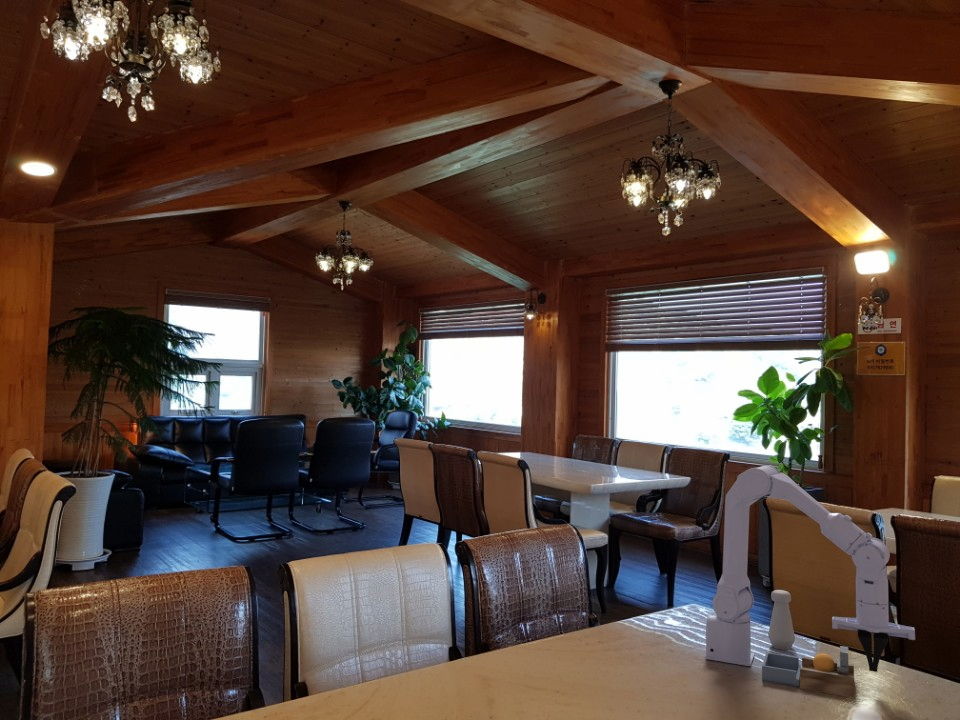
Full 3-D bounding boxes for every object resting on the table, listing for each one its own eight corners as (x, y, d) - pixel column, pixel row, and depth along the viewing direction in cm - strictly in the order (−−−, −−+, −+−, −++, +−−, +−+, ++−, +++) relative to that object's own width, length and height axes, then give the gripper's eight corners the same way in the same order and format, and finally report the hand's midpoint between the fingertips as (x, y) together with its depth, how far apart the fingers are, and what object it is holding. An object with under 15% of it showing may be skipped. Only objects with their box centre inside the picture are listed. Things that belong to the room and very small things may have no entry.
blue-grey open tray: (762, 680, 149) (761, 665, 149) (766, 666, 157) (766, 652, 157) (798, 687, 146) (798, 672, 146) (801, 672, 154) (801, 657, 154)
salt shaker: (797, 652, 165) (796, 595, 166) (771, 650, 166) (770, 593, 167) (791, 643, 171) (791, 588, 172) (766, 641, 172) (765, 587, 173)
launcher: (799, 688, 145) (799, 670, 145) (802, 671, 154) (802, 654, 154) (854, 698, 141) (854, 679, 141) (854, 680, 149) (853, 663, 150)
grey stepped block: (837, 678, 144) (837, 652, 144) (837, 670, 149) (837, 644, 149) (848, 680, 143) (848, 654, 143) (848, 671, 148) (848, 646, 148)
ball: (812, 675, 147) (812, 655, 147) (813, 668, 150) (813, 649, 150) (834, 678, 145) (834, 658, 145) (834, 672, 148) (834, 652, 149)
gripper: (831, 600, 144) (832, 669, 143) (915, 611, 137) (917, 683, 137) (832, 592, 150) (833, 658, 150) (912, 602, 144) (913, 671, 143)
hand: (873, 669), depth 144 cm, fingers closed
